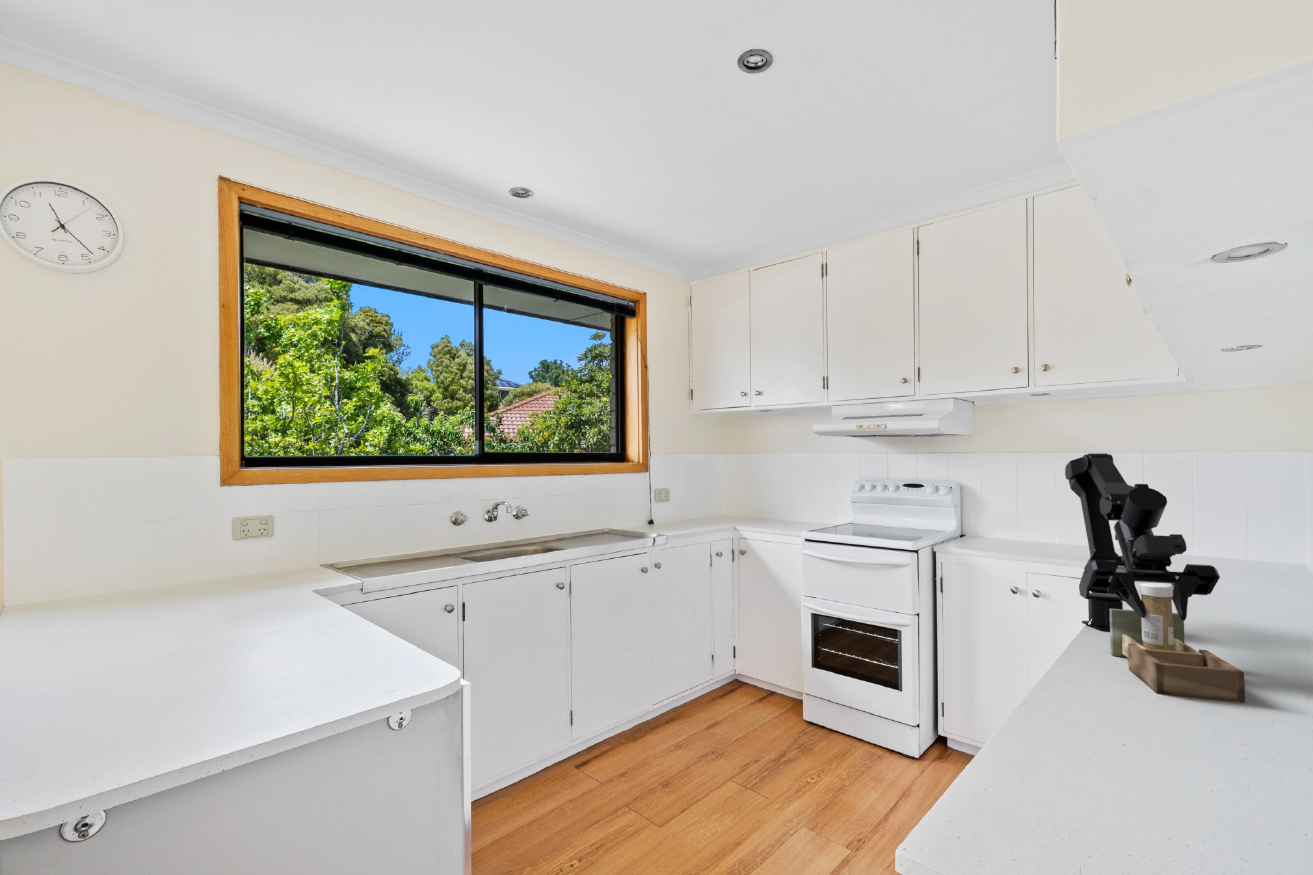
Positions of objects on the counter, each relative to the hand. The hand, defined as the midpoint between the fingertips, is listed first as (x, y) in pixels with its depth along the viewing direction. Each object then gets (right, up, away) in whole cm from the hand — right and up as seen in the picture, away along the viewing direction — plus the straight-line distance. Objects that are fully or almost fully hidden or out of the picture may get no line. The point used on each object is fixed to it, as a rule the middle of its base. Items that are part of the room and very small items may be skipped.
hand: (1163, 617), depth 109 cm
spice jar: (0, -8, +1) cm, 8 cm away
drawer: (+1, -9, +2) cm, 10 cm away
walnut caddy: (-2, -9, -7) cm, 11 cm away
